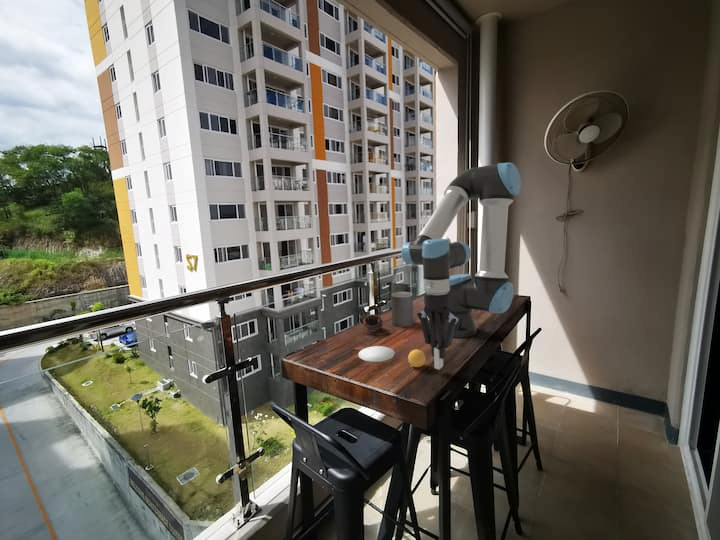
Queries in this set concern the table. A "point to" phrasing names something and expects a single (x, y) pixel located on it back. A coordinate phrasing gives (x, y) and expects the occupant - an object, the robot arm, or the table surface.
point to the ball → (416, 358)
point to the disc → (376, 354)
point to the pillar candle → (402, 309)
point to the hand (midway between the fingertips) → (438, 367)
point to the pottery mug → (371, 323)
